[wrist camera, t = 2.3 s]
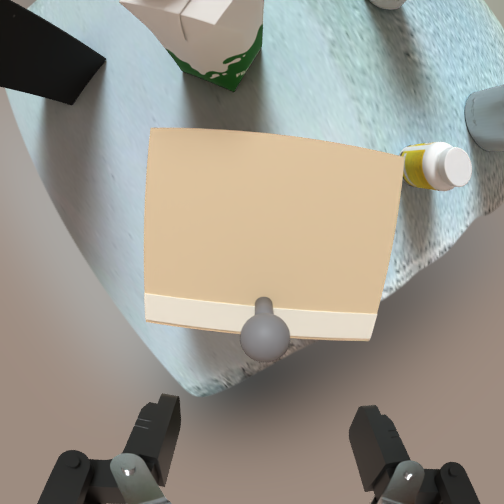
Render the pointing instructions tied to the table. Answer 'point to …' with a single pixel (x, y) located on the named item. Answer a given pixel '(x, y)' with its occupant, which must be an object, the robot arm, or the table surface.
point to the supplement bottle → (435, 166)
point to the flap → (267, 235)
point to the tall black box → (42, 56)
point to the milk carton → (206, 34)
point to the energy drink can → (388, 3)
